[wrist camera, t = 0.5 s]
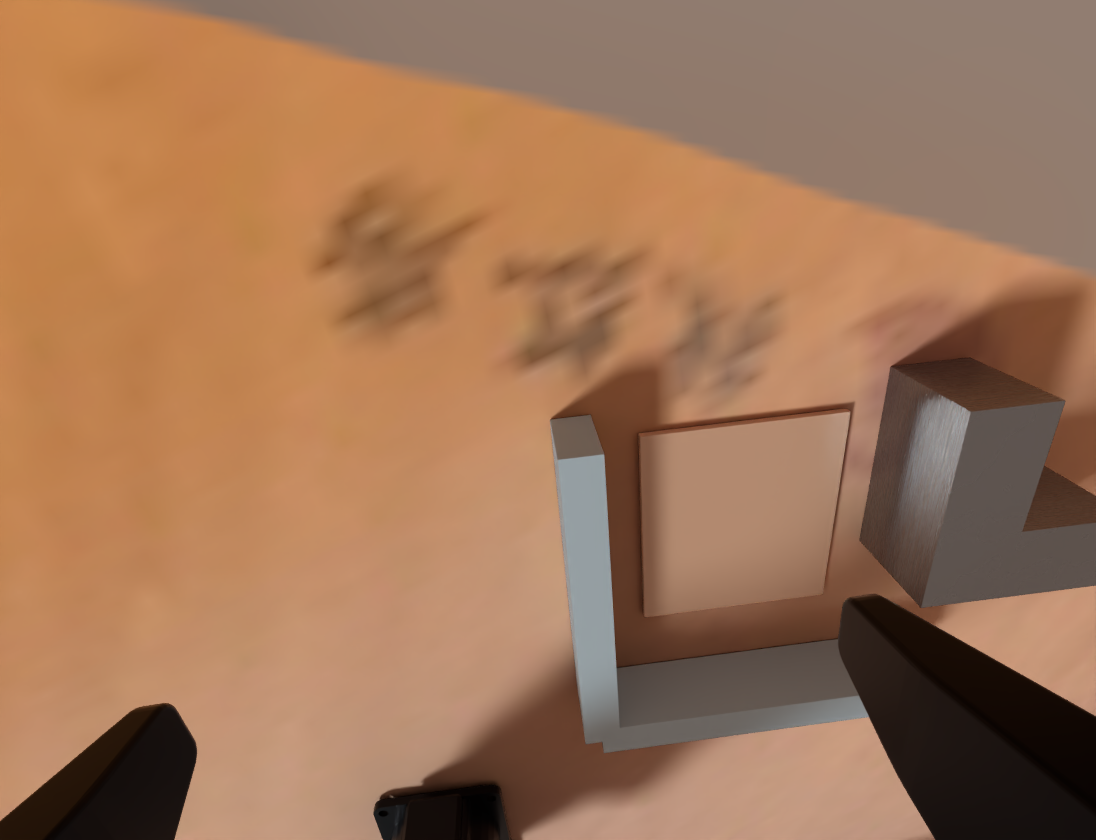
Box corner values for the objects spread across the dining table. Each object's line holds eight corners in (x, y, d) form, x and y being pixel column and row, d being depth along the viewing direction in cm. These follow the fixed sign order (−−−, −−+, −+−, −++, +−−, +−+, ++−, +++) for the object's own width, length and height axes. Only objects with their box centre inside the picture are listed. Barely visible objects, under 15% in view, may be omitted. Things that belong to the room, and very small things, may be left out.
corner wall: (878, 655, 28) (919, 710, 25) (578, 695, 27) (586, 755, 25) (941, 373, 21) (1005, 406, 19) (550, 419, 21) (557, 459, 18)
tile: (819, 589, 26) (822, 594, 25) (643, 612, 25) (644, 617, 25) (846, 408, 22) (850, 411, 21) (638, 433, 21) (639, 436, 21)
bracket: (1017, 520, 25) (1104, 584, 21) (859, 540, 25) (920, 607, 21) (1073, 345, 21) (1190, 385, 18) (890, 366, 21) (971, 411, 18)
